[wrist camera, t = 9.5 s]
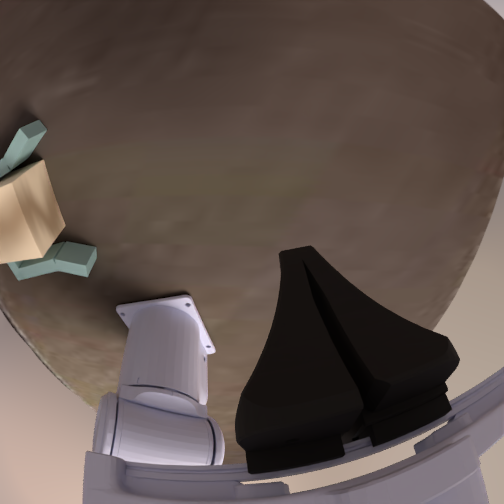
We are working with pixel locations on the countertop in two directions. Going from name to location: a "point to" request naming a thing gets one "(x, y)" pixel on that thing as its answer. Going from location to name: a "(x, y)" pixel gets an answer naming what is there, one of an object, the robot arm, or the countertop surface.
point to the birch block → (28, 214)
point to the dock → (58, 255)
